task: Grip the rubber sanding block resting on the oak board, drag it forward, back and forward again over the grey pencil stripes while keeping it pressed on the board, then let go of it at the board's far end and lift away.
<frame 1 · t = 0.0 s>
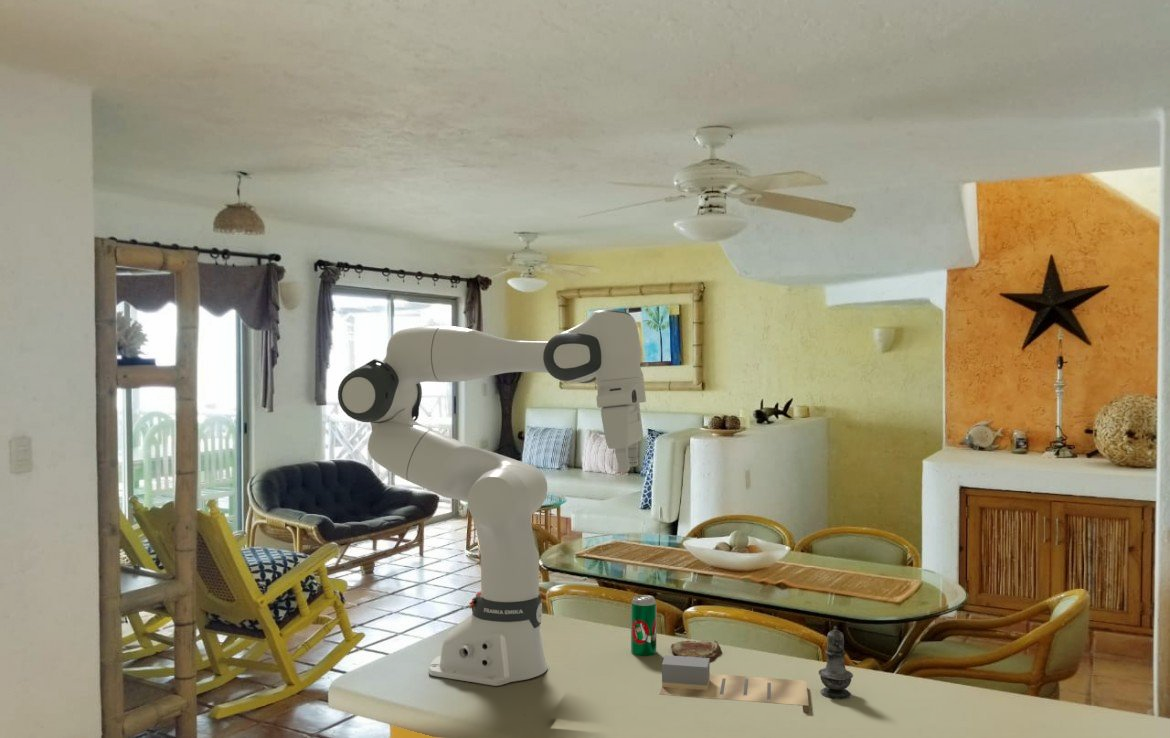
hand: (629, 469, 160), 39 cm above the kitchen counter, tool pointing down, fingers open, 8 cm apart
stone: (695, 659, 172), on the kitchen counter
board: (734, 694, 152), on the kitchen counter
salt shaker: (835, 694, 152), on the kitchen counter
sanding block: (686, 683, 154), point 1 cm above the kitchen counter, touching board
soda can: (643, 658, 172), on the kitchen counter
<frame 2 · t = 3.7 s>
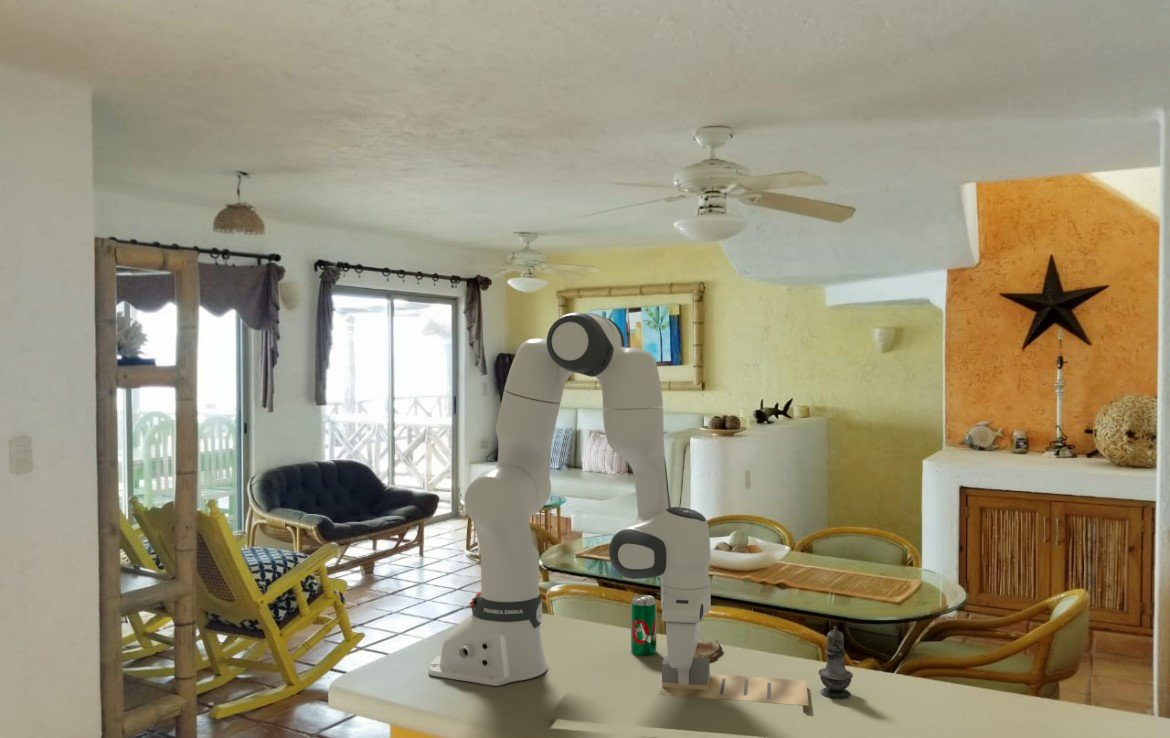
hand: (685, 677, 154), 2 cm above the kitchen counter, tool pointing down, fingers closed on sanding block, 5 cm apart
sanding block: (686, 683, 154), point 1 cm above the kitchen counter, touching board, gripper
everything else where it was.
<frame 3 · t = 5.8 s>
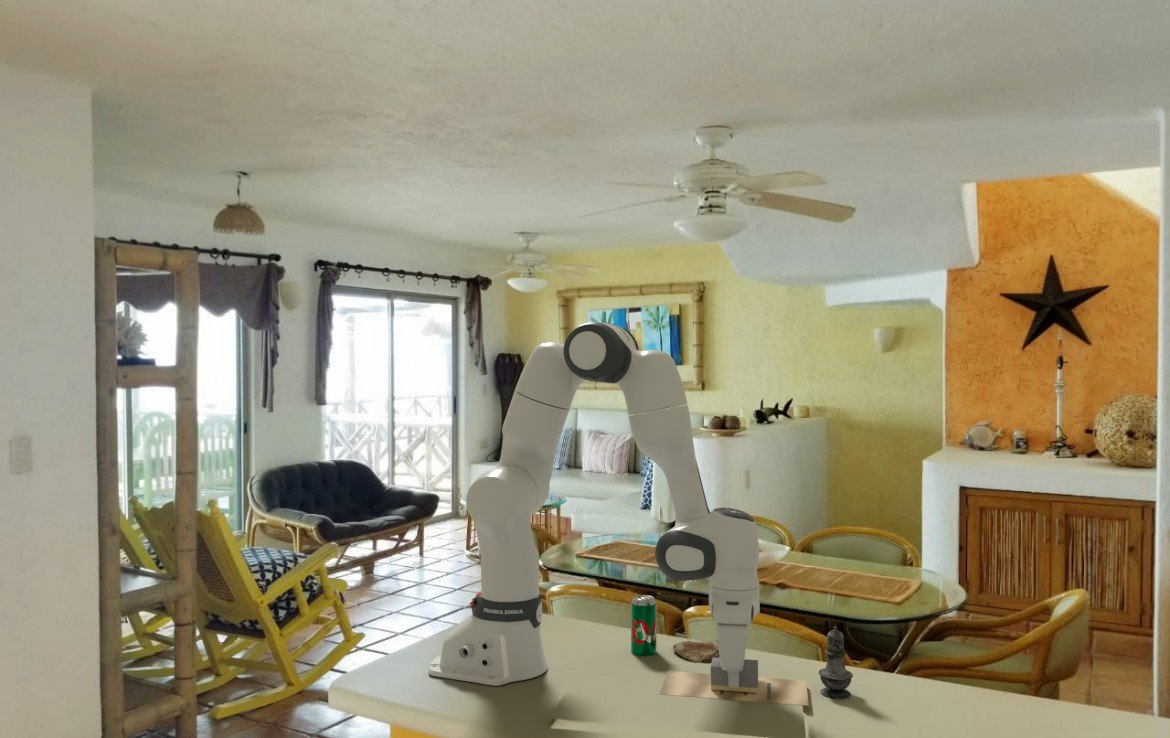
hand: (734, 679, 152), 3 cm above the kitchen counter, tool pointing down, fingers closed on sanding block, 5 cm apart
sanding block: (734, 686, 152), point 1 cm above the kitchen counter, touching gripper
everything else where it was.
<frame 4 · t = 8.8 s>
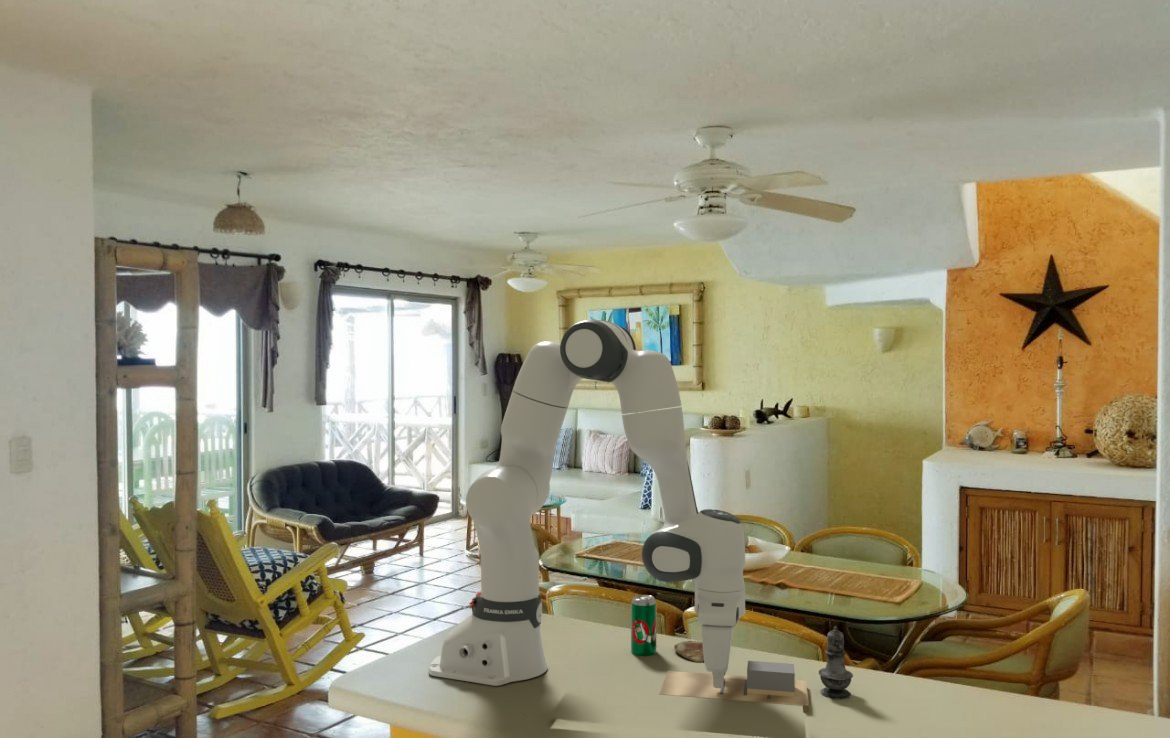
hand: (719, 680, 153), 2 cm above the kitchen counter, tool pointing down, fingers open, 4 cm apart
sanding block: (770, 689, 151), point 1 cm above the kitchen counter, touching board
everything else where it was.
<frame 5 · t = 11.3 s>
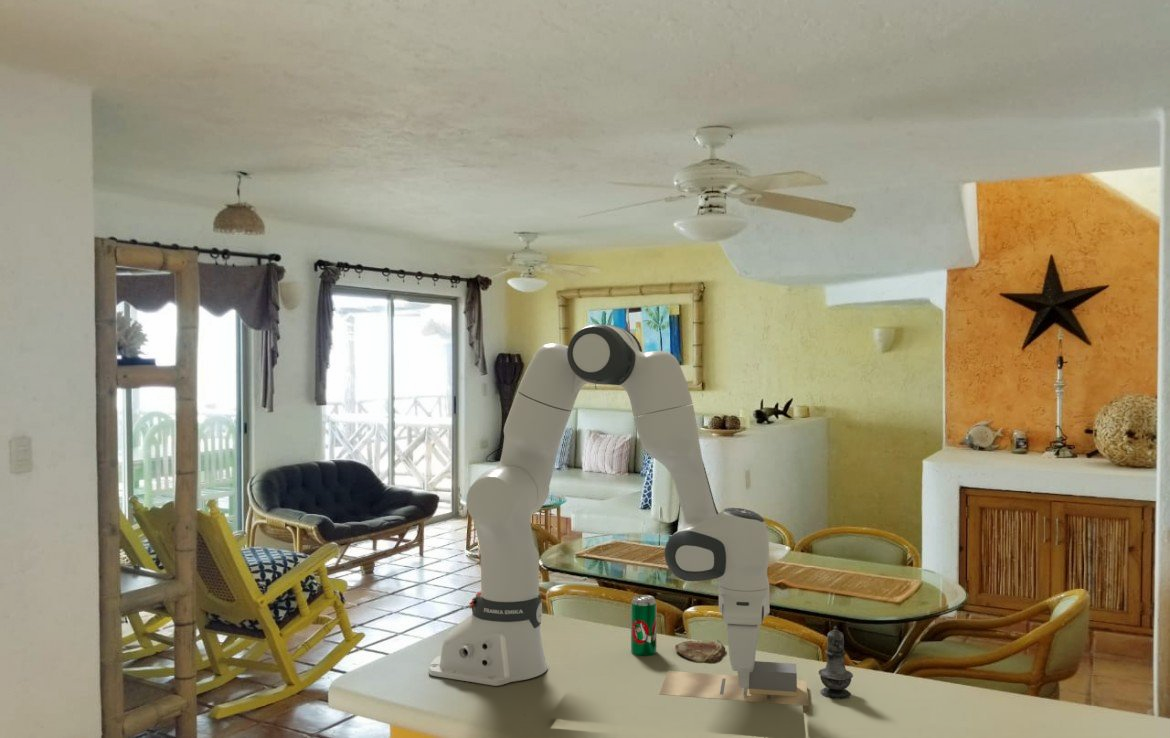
hand: (744, 680, 152), 3 cm above the kitchen counter, tool pointing down, fingers closed on sanding block, 4 cm apart
sanding block: (772, 689, 151), point 1 cm above the kitchen counter, touching gripper
everything else where it was.
when the fingers open (2 cm above the kitchen counter, at t = 13.2 s): sanding block stays where it is, resting on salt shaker.
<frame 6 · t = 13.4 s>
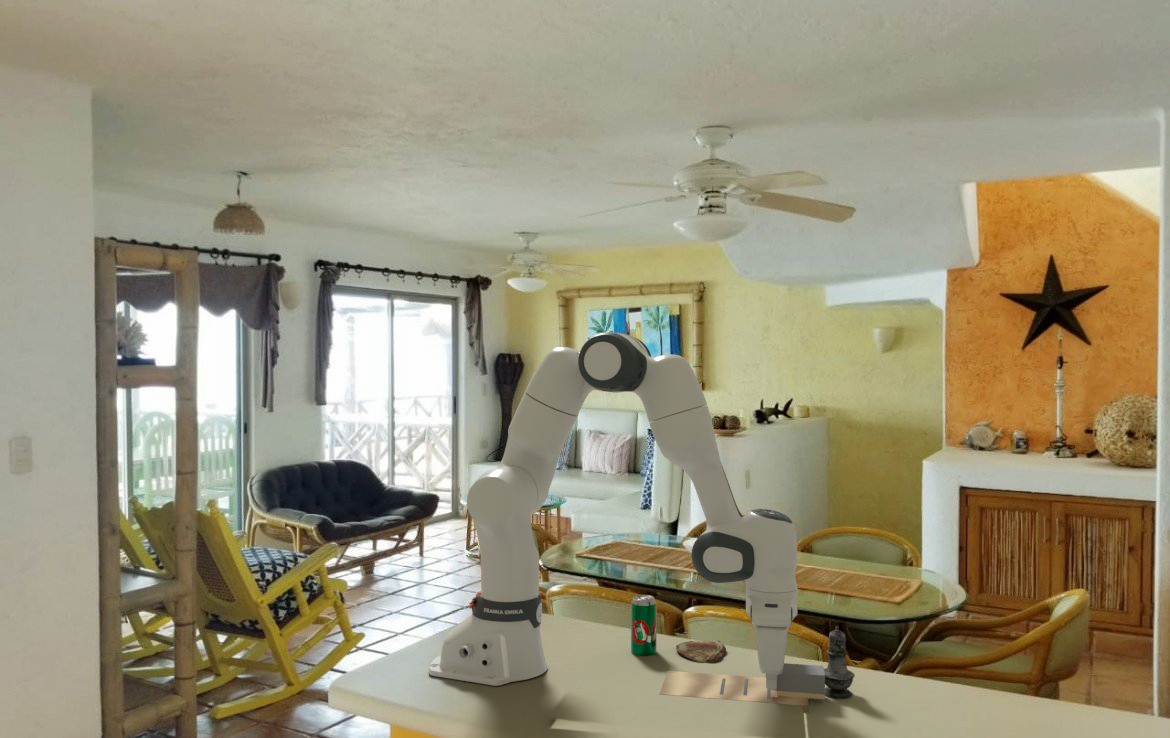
hand: (771, 682, 151), 2 cm above the kitchen counter, tool pointing down, fingers open, 4 cm apart
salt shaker: (837, 694, 152), on the kitchen counter, touching sanding block
sanding block: (800, 692, 150), point 1 cm above the kitchen counter, touching gripper, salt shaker
everything else where it was.
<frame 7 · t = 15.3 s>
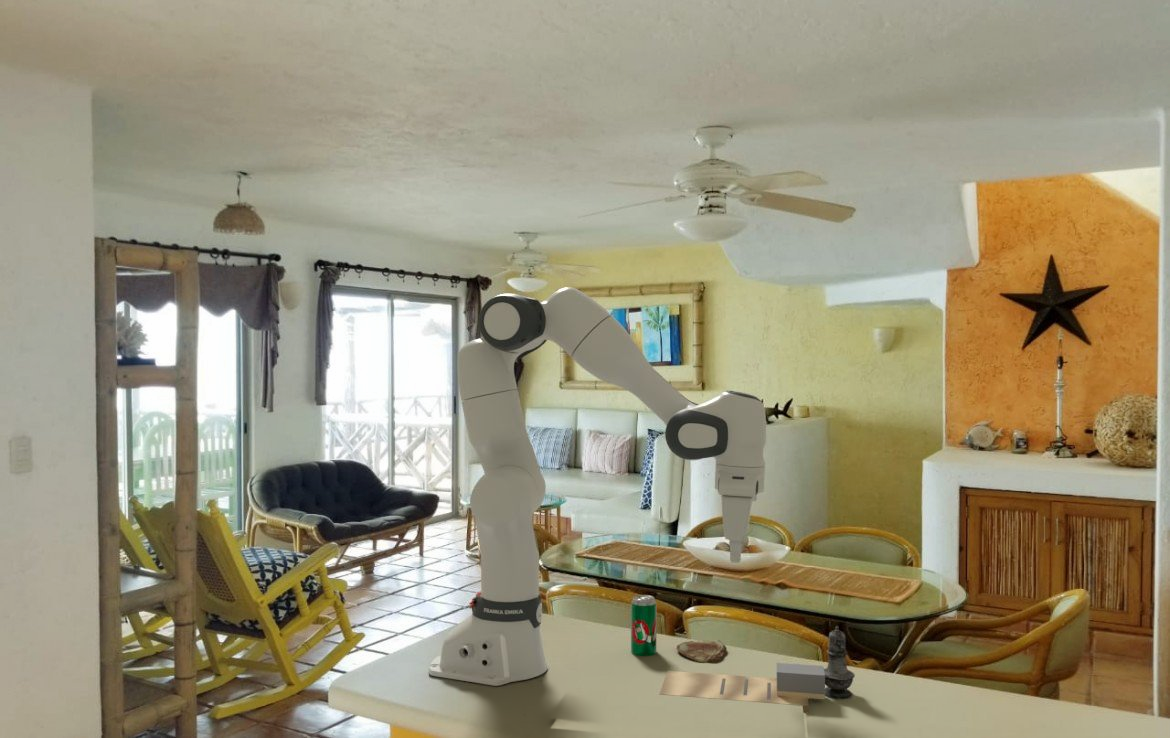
hand: (736, 556, 157), 23 cm above the kitchen counter, tool pointing down, fingers open, 8 cm apart
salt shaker: (837, 694, 152), on the kitchen counter
sanding block: (800, 692, 150), point 1 cm above the kitchen counter, touching board
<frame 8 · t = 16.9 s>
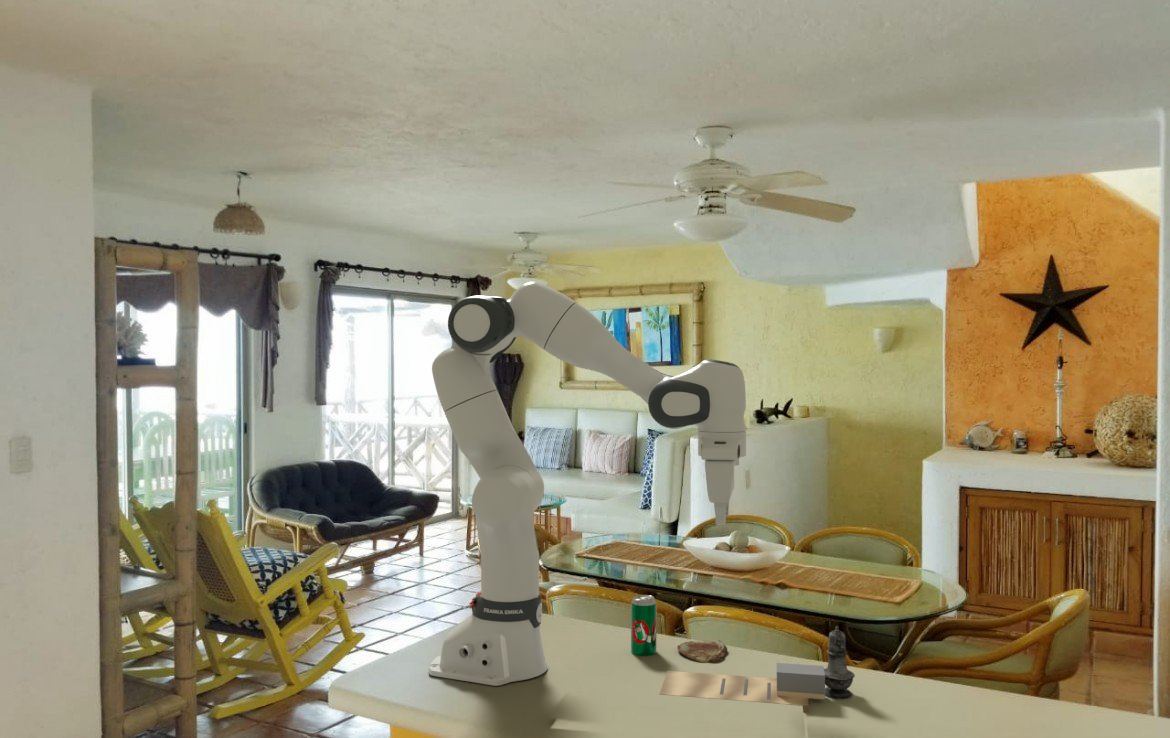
hand: (722, 520, 161), 29 cm above the kitchen counter, tool pointing down, fingers open, 8 cm apart
at the end: sanding block inside the target area (4.5 cm from its centre), point 1.2 cm above the kitchen counter; sanding block moved 19.8 cm from its start; the gripper is holding nothing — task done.
